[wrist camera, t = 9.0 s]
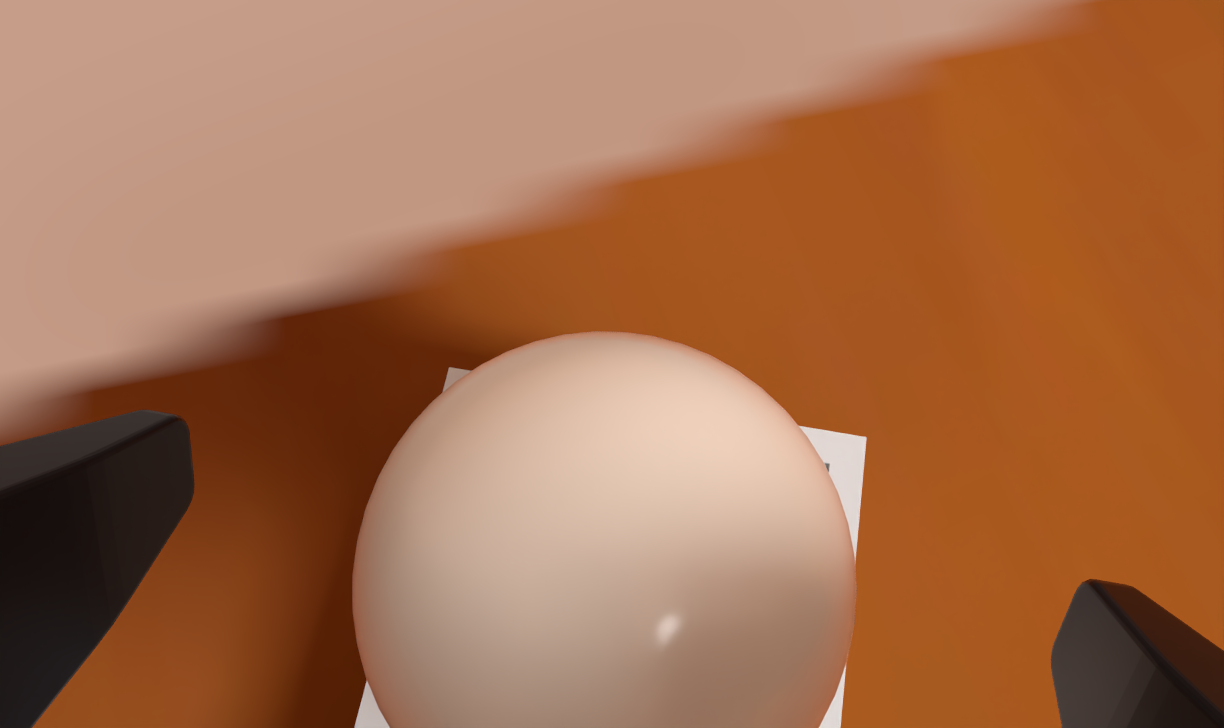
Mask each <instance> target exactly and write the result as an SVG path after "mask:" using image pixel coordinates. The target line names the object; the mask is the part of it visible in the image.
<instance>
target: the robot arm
mask: <svg viewBox="0 0 1224 728" xmlns="http://www.w3.org/2000/svg"><path fill="white" fill-rule="evenodd" d="M193 493H194V474H193V464H192V454H191V444H190V434H189V429H188V425H187V423H186V421H185V420H184V419H183V418H181V417H180V416H178V415H174V414H168V413H163V412H157V411H151V410H139V411H135V412H131V413H127V414H123V415H119V416H116V417H112V418H108V419H104V420H100V421H96V422H92V423H88V424H85V425H81V426H77V427H73V428H69V429H65V430H61V431H57V432H54V433H50V434H46V435H42V436H38V437H34V438H30V439H27V440H23V441H19V442H15V443H11V444H7V445H3V446H0V728H32V727H33V726H34V724H35V723H36V722H37V721H38V719H39V718H40V717H41V716H42V714H43V713H44V712H45V711H46V709H47V708H48V707H49V705H50V704H51V703H52V702H53V700H54V699H55V698H56V697H57V695H58V694H59V693H60V692H61V690H62V689H63V688H64V687H65V685H66V684H67V683H68V682H69V680H70V679H71V678H72V677H73V675H74V674H75V673H76V672H77V670H78V669H79V668H80V666H81V665H82V664H83V663H84V661H85V660H86V659H87V658H88V656H89V655H90V654H91V653H92V651H93V650H94V649H95V648H96V646H97V645H98V644H99V642H100V641H101V640H102V638H103V637H104V636H105V634H106V633H107V632H108V630H109V629H110V628H111V626H112V625H113V624H114V622H115V621H116V619H117V618H118V616H119V615H120V613H121V612H122V610H123V609H124V608H125V606H126V605H127V603H128V601H129V600H130V598H131V597H132V595H133V594H134V592H135V590H136V589H137V587H138V586H139V584H140V583H141V581H142V579H143V578H144V576H145V575H146V573H147V572H148V570H149V569H150V567H151V565H152V564H153V562H154V561H155V559H156V558H157V556H158V554H159V553H160V551H161V550H162V548H163V547H164V545H165V544H166V542H167V540H168V539H169V537H170V536H171V534H172V533H173V531H174V529H175V528H176V526H177V525H178V523H179V522H180V520H181V518H182V517H183V515H184V514H185V512H186V511H187V509H188V507H189V505H190V503H191V500H192V497H193ZM1051 669H1052V676H1053V681H1054V687H1055V692H1056V697H1057V703H1058V708H1059V713H1060V719H1061V724H1062V728H1224V651H1223V650H1222V649H1220V648H1219V647H1217V646H1216V645H1215V644H1213V643H1212V642H1210V641H1209V640H1208V639H1206V638H1205V637H1203V636H1202V635H1201V634H1199V633H1198V632H1196V631H1195V630H1194V629H1192V628H1191V627H1189V626H1188V625H1186V624H1185V623H1184V622H1182V621H1181V620H1179V619H1178V618H1177V617H1175V616H1174V615H1172V614H1171V613H1170V612H1168V611H1167V610H1165V609H1164V608H1163V607H1161V606H1160V605H1158V604H1157V603H1156V602H1154V601H1153V600H1151V599H1150V598H1148V597H1147V596H1146V595H1144V594H1143V593H1141V592H1140V591H1139V590H1137V589H1136V588H1134V587H1131V586H1128V585H1124V584H1119V583H1113V582H1107V581H1102V580H1096V579H1089V580H1087V581H1085V582H1082V584H1081V585H1080V586H1079V587H1078V589H1077V590H1076V592H1075V594H1074V597H1073V599H1072V601H1071V604H1070V606H1069V609H1068V611H1067V613H1066V616H1065V618H1064V620H1063V623H1062V625H1061V628H1060V630H1059V632H1058V635H1057V637H1056V639H1055V642H1054V645H1053V649H1052V655H1051Z"/></svg>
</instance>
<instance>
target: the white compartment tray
mask: <svg viewBox="0 0 1224 728" xmlns="http://www.w3.org/2000/svg"><path fill="white" fill-rule="evenodd" d="M469 372H471V371H469V370H463V369H457V368H452V367H449V369H448V373H447V377H446V381H445V385H444V388H443V392H444V391H445V390H446V389H447V388H449V387H450V386H451V385H452V384H453V383H454V382H456V381H457V380H459V379H460V378H462V377H463V376H465V375H466V374H468V373H469ZM443 392H442V393H443ZM799 427H800V428H801V430H802V431H803V432H804V433H805V434H806V436H807V437H808V439H809V440H810V442H811V443H812V445H813V446H814V448H815V450H816V451H817V453H818V454H819V456H820V457H821V459H822V460H823V462H824V464H825V466H826V468H827V470H828V472H829V474H830V476H831V479H832V481H833V483H834V485H835V487H836V489H837V491H838V494H839V497H840V500H841V503H842V506H843V509H844V512H845V515H846V518H847V521H848V525H849V530H850V535H851V540H852V545H853V551H854V556H855V559H856V548H857V537H858V526H859V515H860V504H861V493H862V481H863V470H864V459H865V448H866V437H862V436H856V435H850V434H844V433H838V432H832V431H826V430H820V429H814V428H808V427H802V426H799ZM845 671H846V665H845V668H844V671H843V674H842V677H841V680H840V683H839V686H838V689H837V691H836V694H835V697H834V699H833V701H832V703H831V705H830V707H829V709H828V711H827V713H826V715H825V717H824V719H823V721H822V723H821V725H820V727H819V728H840V726H841V715H842V704H843V693H844V682H845ZM354 728H390V727H389V725H388V724H387V722H386V720H385V718H384V717H383V715H382V713H381V712H380V710H379V708H378V705H377V703H376V701H375V698H374V696H373V693H372V691H371V688H370V686H369V684H368V681H366V685H365V689H364V693H363V696H362V700H361V704H360V708H359V712H358V715H357V719H356V723H355V727H354Z"/></svg>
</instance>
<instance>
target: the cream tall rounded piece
mask: <svg viewBox="0 0 1224 728" xmlns="http://www.w3.org/2000/svg"><path fill="white" fill-rule="evenodd" d="M856 594H857V587H856V571H855V556H854V551H853V545H852V540H851V535H850V530H849V525H848V521H847V518H846V515H845V512H844V509H843V506H842V503H841V500H840V497H839V494H838V491H837V489H836V487H835V485H834V483H833V481H832V479H831V476H830V474H829V472H828V470H827V468H826V466H825V464H824V462H823V460H822V459H821V457H820V456H819V454H818V453H817V451H816V450H815V448H814V446H813V445H812V443H811V442H810V440H809V439H808V437H807V436H806V434H805V433H804V432H803V431H802V430H801V428H800V427H799V426H798V425H797V423H796V422H795V421H794V420H793V419H792V417H791V416H790V415H789V414H788V413H787V412H786V411H785V410H784V409H783V408H782V407H781V406H780V405H779V404H778V403H777V402H776V401H775V400H774V399H773V398H772V397H771V396H769V395H768V394H767V393H766V392H765V391H764V390H763V389H762V388H761V387H759V386H758V385H757V384H755V383H754V382H753V381H751V380H750V379H748V378H747V377H746V376H744V375H743V374H742V373H740V372H739V371H738V370H736V369H734V368H732V367H731V366H729V365H727V364H725V363H723V362H722V361H720V360H718V359H716V358H714V357H713V356H711V355H708V354H706V353H704V352H701V351H699V350H696V349H694V348H691V347H689V346H686V345H684V344H681V343H677V342H673V341H670V340H666V339H662V338H658V337H655V336H648V335H641V334H634V333H627V332H585V333H575V334H566V335H561V336H556V337H552V338H548V339H543V340H539V341H535V342H532V343H529V344H527V345H524V346H521V347H518V348H515V349H513V350H510V351H507V352H505V353H503V354H501V355H499V356H497V357H495V358H493V359H491V360H489V361H487V362H485V363H483V364H481V365H480V366H478V367H477V368H475V369H474V370H472V371H471V372H469V373H468V374H466V375H465V376H463V377H462V378H460V379H459V380H457V381H456V382H454V383H453V384H452V385H451V386H450V387H449V388H447V389H446V390H445V391H444V392H443V393H442V394H440V395H439V396H438V397H437V398H436V399H435V400H433V401H432V402H431V403H430V404H429V406H428V407H427V408H426V409H425V410H424V411H423V412H422V413H421V414H420V415H419V416H418V418H417V419H416V420H415V421H414V422H413V423H412V424H411V425H410V427H409V428H408V430H407V431H406V432H405V434H404V435H403V437H402V438H401V439H400V441H399V442H398V444H397V445H396V446H395V448H394V449H393V451H392V453H391V454H390V456H389V458H388V460H387V462H386V464H385V465H384V467H383V469H382V471H381V473H380V475H379V476H378V478H377V481H376V484H375V486H374V489H373V491H372V494H371V496H370V499H369V501H368V504H367V506H366V509H365V513H364V517H363V520H362V524H361V528H360V532H359V536H358V540H357V545H356V552H355V560H354V568H353V576H352V610H353V618H354V625H355V633H356V641H357V646H358V650H359V654H360V657H361V661H362V665H363V669H364V672H365V676H366V679H367V681H368V684H369V686H370V688H371V691H372V693H373V696H374V698H375V701H376V703H377V705H378V708H379V710H380V712H381V713H382V715H383V717H384V718H385V720H386V722H387V724H388V725H389V727H390V728H819V727H820V725H821V723H822V721H823V719H824V717H825V715H826V713H827V711H828V709H829V707H830V705H831V703H832V701H833V699H834V697H835V694H836V691H837V689H838V686H839V683H840V680H841V677H842V674H843V671H844V668H845V665H846V662H847V659H848V654H849V649H850V644H851V639H852V634H853V629H854V623H855V608H856Z"/></svg>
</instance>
